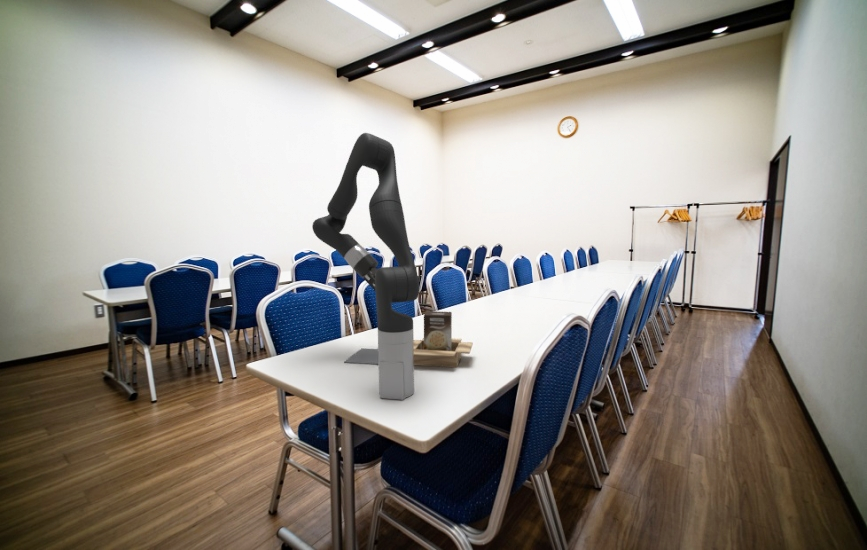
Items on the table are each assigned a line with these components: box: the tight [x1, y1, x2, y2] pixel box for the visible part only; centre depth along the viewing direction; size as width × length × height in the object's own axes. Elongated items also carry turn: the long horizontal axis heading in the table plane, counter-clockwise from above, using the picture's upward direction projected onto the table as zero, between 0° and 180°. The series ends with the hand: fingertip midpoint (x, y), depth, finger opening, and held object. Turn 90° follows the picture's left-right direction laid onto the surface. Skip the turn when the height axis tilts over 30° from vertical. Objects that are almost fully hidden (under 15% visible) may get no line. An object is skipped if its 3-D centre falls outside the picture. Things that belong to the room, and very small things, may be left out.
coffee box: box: [423, 310, 453, 351], centre depth 122 cm, size 9×6×16 cm
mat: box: [343, 348, 379, 366], centre depth 127 cm, size 15×14×1 cm
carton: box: [413, 337, 474, 368], centre depth 123 cm, size 19×22×5 cm
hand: (394, 295), depth 124 cm, fingers open, 8 cm apart
